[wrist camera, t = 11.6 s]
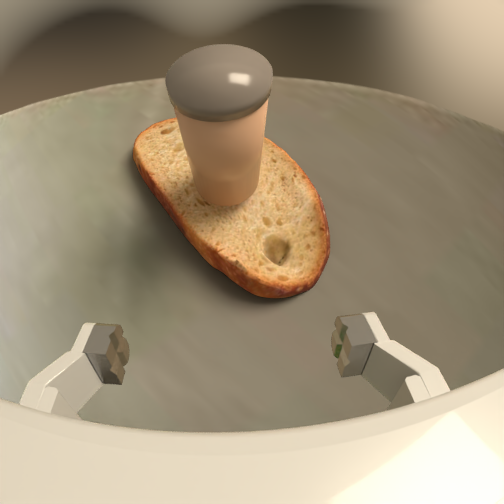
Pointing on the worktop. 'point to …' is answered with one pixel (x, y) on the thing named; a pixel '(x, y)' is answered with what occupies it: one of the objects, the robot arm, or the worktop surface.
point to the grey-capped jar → (222, 118)
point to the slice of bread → (242, 216)
